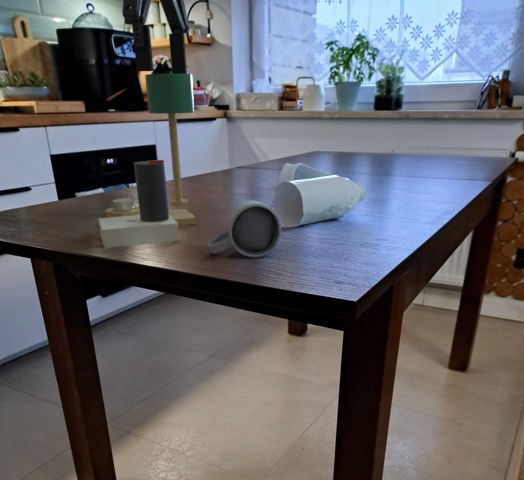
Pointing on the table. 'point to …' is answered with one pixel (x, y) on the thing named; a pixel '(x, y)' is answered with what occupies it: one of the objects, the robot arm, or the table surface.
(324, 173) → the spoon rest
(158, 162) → the dark grey cylinder
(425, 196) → the table surface
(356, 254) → the table surface
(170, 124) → the desk lamp
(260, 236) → the ceramic mug
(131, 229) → the plate
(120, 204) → the lamp switch
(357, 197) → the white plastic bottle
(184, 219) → the lamp base
